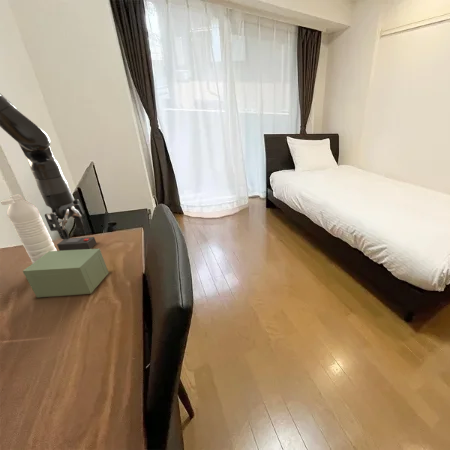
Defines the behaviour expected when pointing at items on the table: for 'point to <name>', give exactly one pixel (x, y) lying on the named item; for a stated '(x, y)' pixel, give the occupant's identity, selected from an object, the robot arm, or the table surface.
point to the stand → (66, 272)
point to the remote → (76, 243)
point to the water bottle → (29, 227)
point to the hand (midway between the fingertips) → (73, 233)
